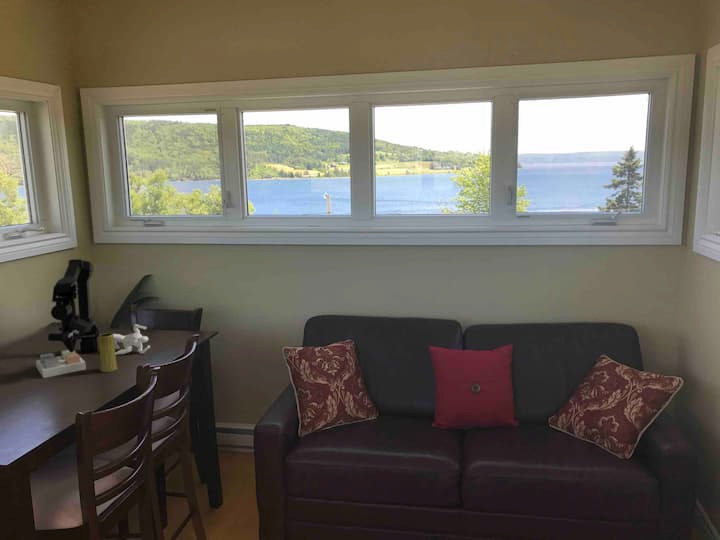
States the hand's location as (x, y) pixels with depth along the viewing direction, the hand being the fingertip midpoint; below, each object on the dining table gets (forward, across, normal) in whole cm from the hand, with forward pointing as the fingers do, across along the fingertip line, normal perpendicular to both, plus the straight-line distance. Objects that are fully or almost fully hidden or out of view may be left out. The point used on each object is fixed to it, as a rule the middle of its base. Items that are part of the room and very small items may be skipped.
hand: (71, 352), depth 223 cm
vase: (+7, 0, -15) cm, 17 cm away
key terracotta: (+4, 0, 0) cm, 4 cm away
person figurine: (+7, +23, -11) cm, 26 cm away
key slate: (+4, 0, +11) cm, 11 cm away
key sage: (+4, +5, +5) cm, 9 cm away
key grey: (+4, -5, +5) cm, 9 cm away
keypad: (+7, 0, +5) cm, 9 cm away
